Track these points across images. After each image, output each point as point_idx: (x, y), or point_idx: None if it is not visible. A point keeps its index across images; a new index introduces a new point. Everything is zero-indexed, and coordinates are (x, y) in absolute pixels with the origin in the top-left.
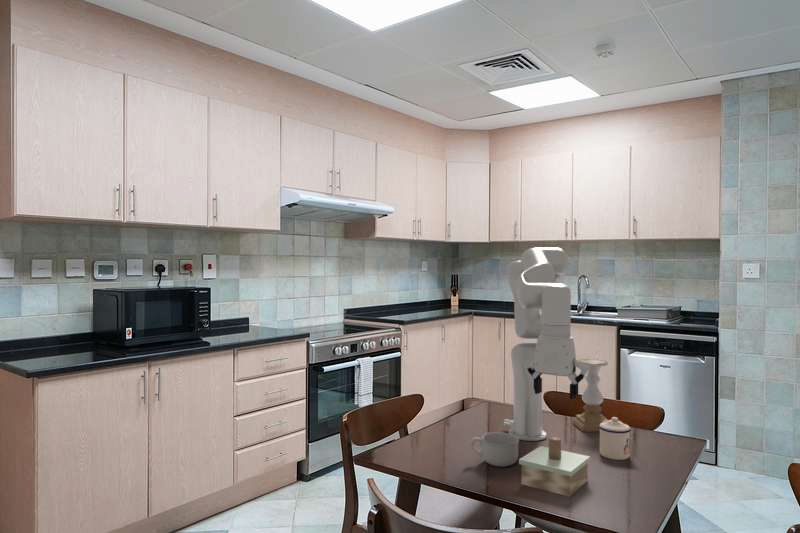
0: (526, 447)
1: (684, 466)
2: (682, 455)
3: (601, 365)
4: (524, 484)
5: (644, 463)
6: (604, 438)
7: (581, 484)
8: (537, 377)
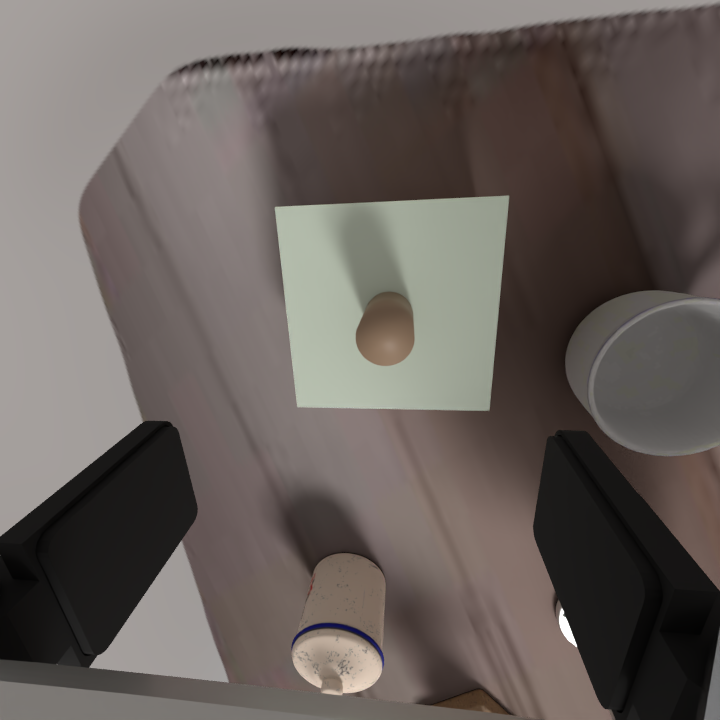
0: None
1: (203, 585)
2: (234, 639)
3: None
4: None
5: (273, 563)
6: (357, 604)
7: None
8: (687, 665)
